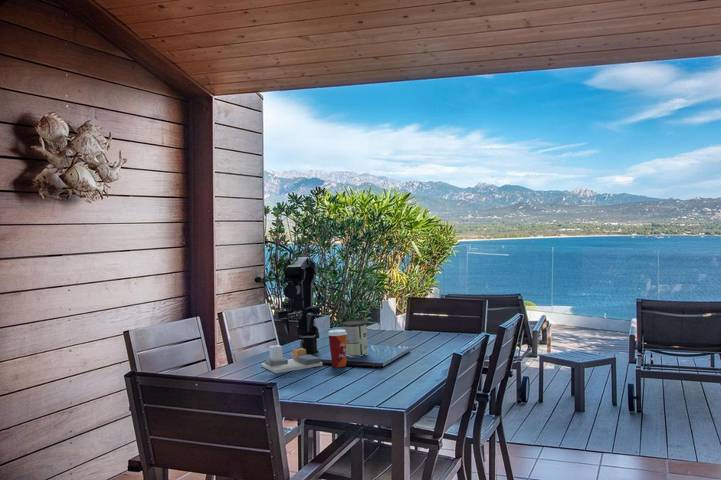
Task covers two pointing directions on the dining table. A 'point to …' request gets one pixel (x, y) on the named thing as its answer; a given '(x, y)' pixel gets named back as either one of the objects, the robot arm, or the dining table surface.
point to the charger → (275, 353)
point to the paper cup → (338, 347)
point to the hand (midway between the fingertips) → (298, 333)
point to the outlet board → (286, 365)
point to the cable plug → (298, 352)
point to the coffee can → (356, 337)
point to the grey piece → (308, 359)
